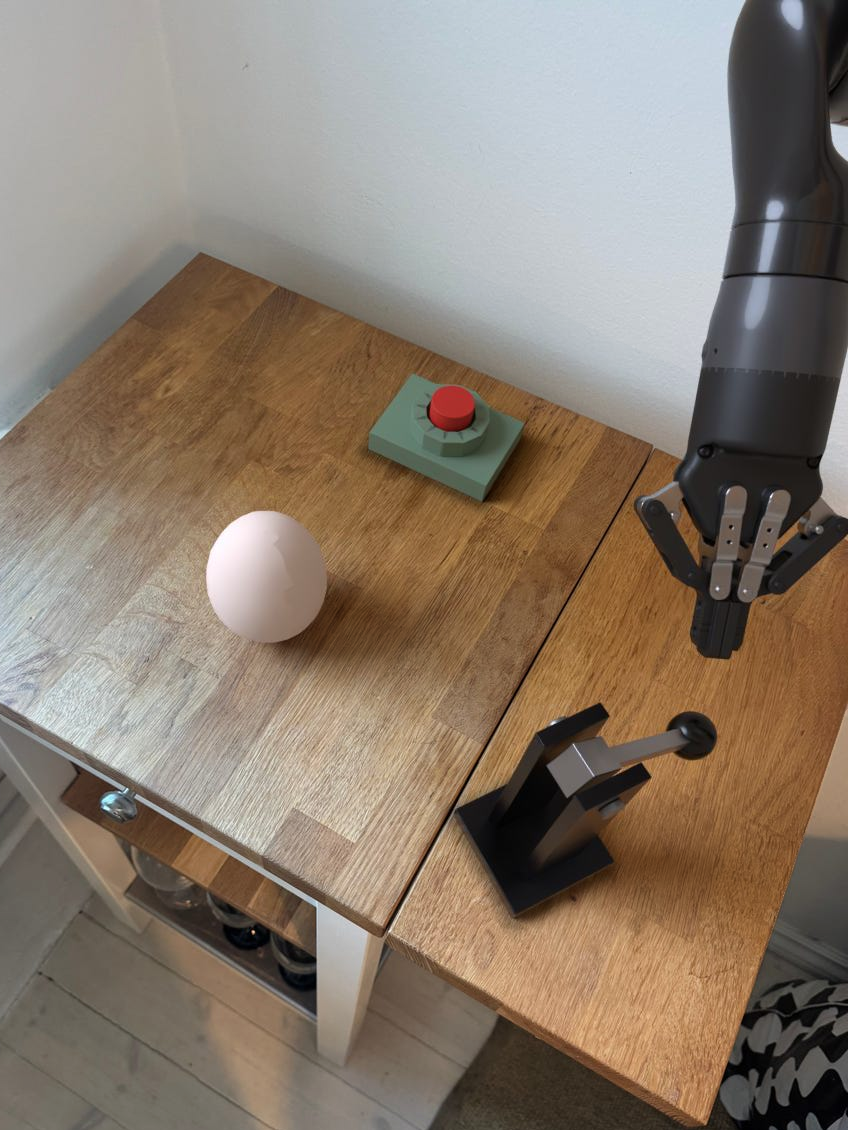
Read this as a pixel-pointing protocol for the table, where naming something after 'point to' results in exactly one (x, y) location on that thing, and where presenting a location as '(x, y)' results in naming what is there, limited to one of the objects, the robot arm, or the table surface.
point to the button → (452, 408)
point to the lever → (631, 752)
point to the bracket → (546, 819)
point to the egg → (266, 577)
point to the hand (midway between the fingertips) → (712, 655)
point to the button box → (445, 440)
